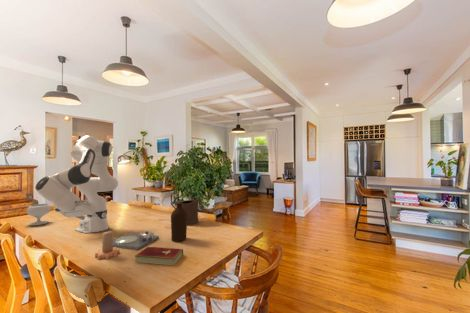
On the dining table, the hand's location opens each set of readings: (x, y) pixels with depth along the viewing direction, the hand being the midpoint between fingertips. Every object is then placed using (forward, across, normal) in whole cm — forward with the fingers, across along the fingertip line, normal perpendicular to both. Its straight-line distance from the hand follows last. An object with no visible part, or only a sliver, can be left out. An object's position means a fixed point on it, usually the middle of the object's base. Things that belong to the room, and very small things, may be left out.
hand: (89, 218), depth 116 cm
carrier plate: (+32, -2, -3) cm, 33 cm away
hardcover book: (+28, -32, +12) cm, 44 cm away
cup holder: (+67, -10, -37) cm, 77 cm away
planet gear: (+19, -4, +11) cm, 22 cm away
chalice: (+22, +98, -20) cm, 102 cm away
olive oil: (+45, -27, -9) cm, 53 cm away
